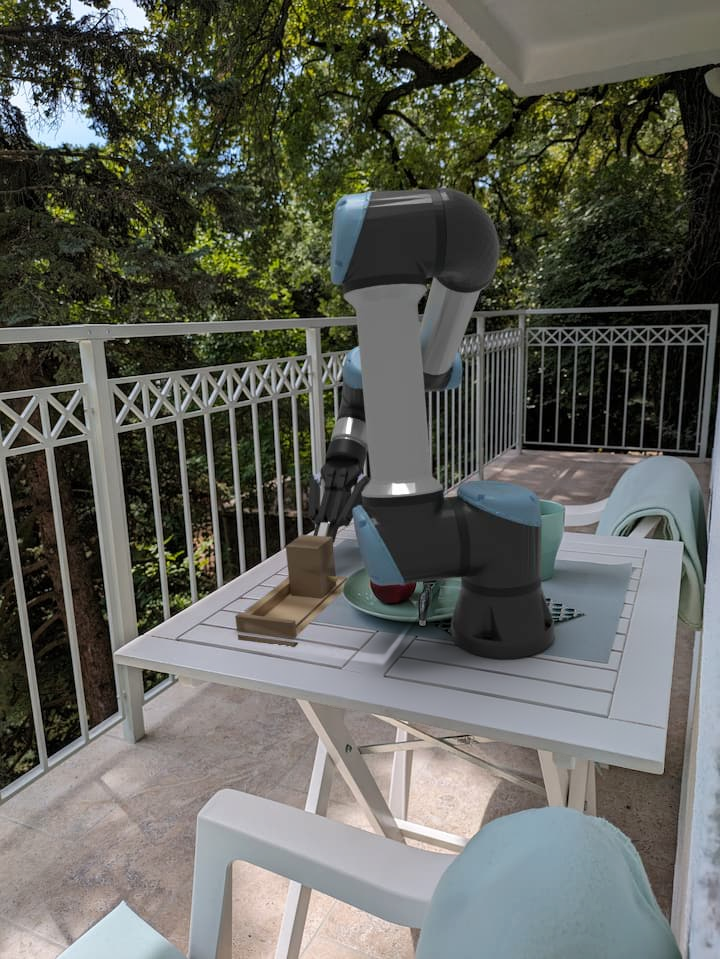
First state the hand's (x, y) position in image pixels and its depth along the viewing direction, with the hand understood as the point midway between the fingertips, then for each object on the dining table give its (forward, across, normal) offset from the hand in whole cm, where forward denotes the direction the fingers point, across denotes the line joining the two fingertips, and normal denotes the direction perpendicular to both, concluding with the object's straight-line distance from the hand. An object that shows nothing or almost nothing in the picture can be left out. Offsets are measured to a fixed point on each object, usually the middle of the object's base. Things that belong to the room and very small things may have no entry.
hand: (318, 558), depth 131 cm
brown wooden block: (+6, -1, 0) cm, 6 cm away
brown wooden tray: (+11, -1, +3) cm, 11 cm away
